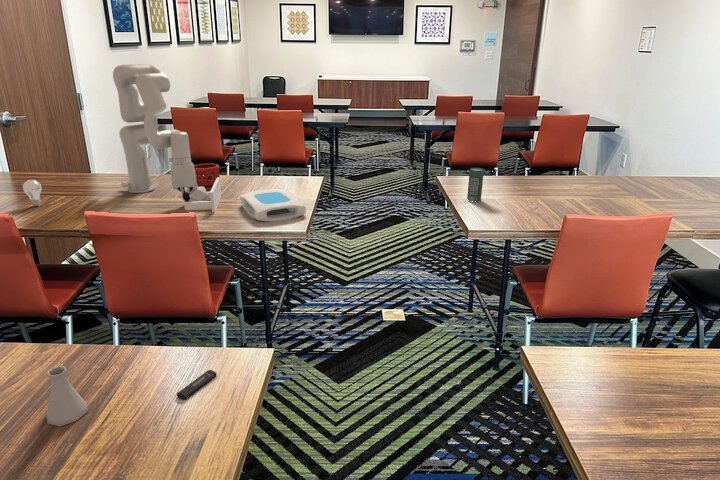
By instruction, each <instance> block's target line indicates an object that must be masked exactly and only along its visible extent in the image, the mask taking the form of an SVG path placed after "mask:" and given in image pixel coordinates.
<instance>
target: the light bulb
mask: <svg viewBox="0 0 720 480" xmlns="http://www.w3.org/2000/svg"><path fill="white" fill-rule="evenodd" d="M42 189H43V188H42V184H41V183H40V182H39V181H38V180H36V179H28V180H26V181H25V182H24V183H23V185H22V190H23V192H24V194H26V195H27V196H28V198H29V200H30V202H31V205H32V206H34V207H39V206H40V204H41V199H40V198H41V192H42V191H43V190H42Z"/></svg>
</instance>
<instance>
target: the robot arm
mask: <svg viewBox="0 0 720 480" xmlns="http://www.w3.org/2000/svg"><path fill="white" fill-rule="evenodd" d="M112 79H113V82H114V85H115V88H116V90H117V95H118V103H119V110H120V117H121V119H122V120H123V122H124V123H128V124H129V123H130V125H125V126H122V128H120V130H119V133H118V134H119V138H120V142H121V144H122V147H123V151H124V156H125V157H124V158H125V163H126V168H127V173H128V178H129V181H126V182H124V181H123V182H121V183H120V185H121V187H123V188H124V187H125V188H126V187H127V188H126V189H127V192H128V193H131V194H144V193H149V192H152V191H155V189H156V186H155V185H153V184H152V182H151V181H152V180H151V174H150V168H149V162H148V155H147V152H146V150H144V148H143V147H142V145H148V144H149V145H150V146H152V148H153V149H155V150H162V149H163V150H164V149H169V148H170V149H171V158H169V159H168V161H169V162H171V163H172V164H171V166H170V172H171V173H170V176H171V177H170V180H171V185H172V189H173V190H177V191H179V192H180V193H181V194H182V200H183V201H184V202H190V201H191V199H190V197H189V194H190V192H191V190H192V189H195V188H198V185H197V178H196V173H195V168H194V166H195V165H194V163H193V162H192V158H191V149H190V139H189V134H188V133H187V132H186V131H180V130H178V129H175V128H174V129H165V130H159V127H158V125H159V124H158V115H160V114H161V113H162V112H164V111H165V110H166V109H167V104H166V101H165V99H164V97H163V94H162V93H167V92H169V91H170V89H171V82H170V79H169V77H168V76H167V75H166V73H164V72H163V71H161V70H160V69H158V68H157V67H156V66H154V65H152V64H147V63H146V64H145V63H144V64H143V63H142V64H136V63H135V64H132V63H131V64H121V65H117V66H115V67H114V69H113V71H112ZM135 86H136V87H135ZM139 95H140V98H141V99H142V100H140V98H139ZM141 122H142V123H141ZM131 123H134V124H131ZM135 123H137V124H135ZM138 123H140V124H138ZM185 188H186V189H185Z"/></svg>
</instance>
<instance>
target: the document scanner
mask: <svg viewBox="0 0 720 480" xmlns="http://www.w3.org/2000/svg"><path fill="white" fill-rule="evenodd" d="M239 197H240V204H241V206H242V208H243V210H244V211H245V212H247V214H248V215H249V216H250V217H251V218H252V219H253V218H254V220H256V221H259V222H267V223H272V222H279V221H286V220H292V219H297V218H299V217H301V216H304V215H306V214H307V211H306V210H307V206H306V205H305V203H304V201H302V200H301V198H300V197H299V196H297V195H296V194H294V193H292V191H290V190H286V189H278V188H270V189H260V190H252V191H249V192H246V193H244V194H241V195H240V196H239ZM282 209H286V210H287V211H288V212H284V213H280V214H279V213H278V214H268V212H271V211H274V210H275V211H276V210H282Z"/></svg>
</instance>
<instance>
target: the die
mask: <svg viewBox="0 0 720 480" xmlns="http://www.w3.org/2000/svg"><path fill="white" fill-rule="evenodd" d="M207 192H208V191H206V189H205V187H198V188H195V189H192V190H191V191H190V194H189V197H190V202H194V201H208V200H207V198H208V194H207Z"/></svg>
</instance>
